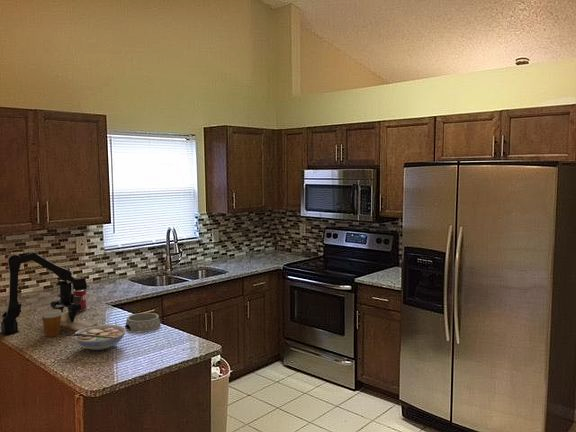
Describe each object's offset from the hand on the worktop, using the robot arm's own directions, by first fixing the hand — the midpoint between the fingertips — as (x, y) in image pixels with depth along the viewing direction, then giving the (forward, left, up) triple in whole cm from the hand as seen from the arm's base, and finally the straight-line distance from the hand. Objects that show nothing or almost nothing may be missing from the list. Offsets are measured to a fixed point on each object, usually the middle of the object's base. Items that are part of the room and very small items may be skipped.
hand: (66, 321), depth 262 cm
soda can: (+21, +17, -2) cm, 27 cm away
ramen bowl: (-15, -45, -2) cm, 47 cm away
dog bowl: (+18, -38, -2) cm, 42 cm away
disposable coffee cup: (-15, -9, -2) cm, 18 cm away
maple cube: (0, 0, -2) cm, 2 cm away
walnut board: (-2, -13, -2) cm, 13 cm away
